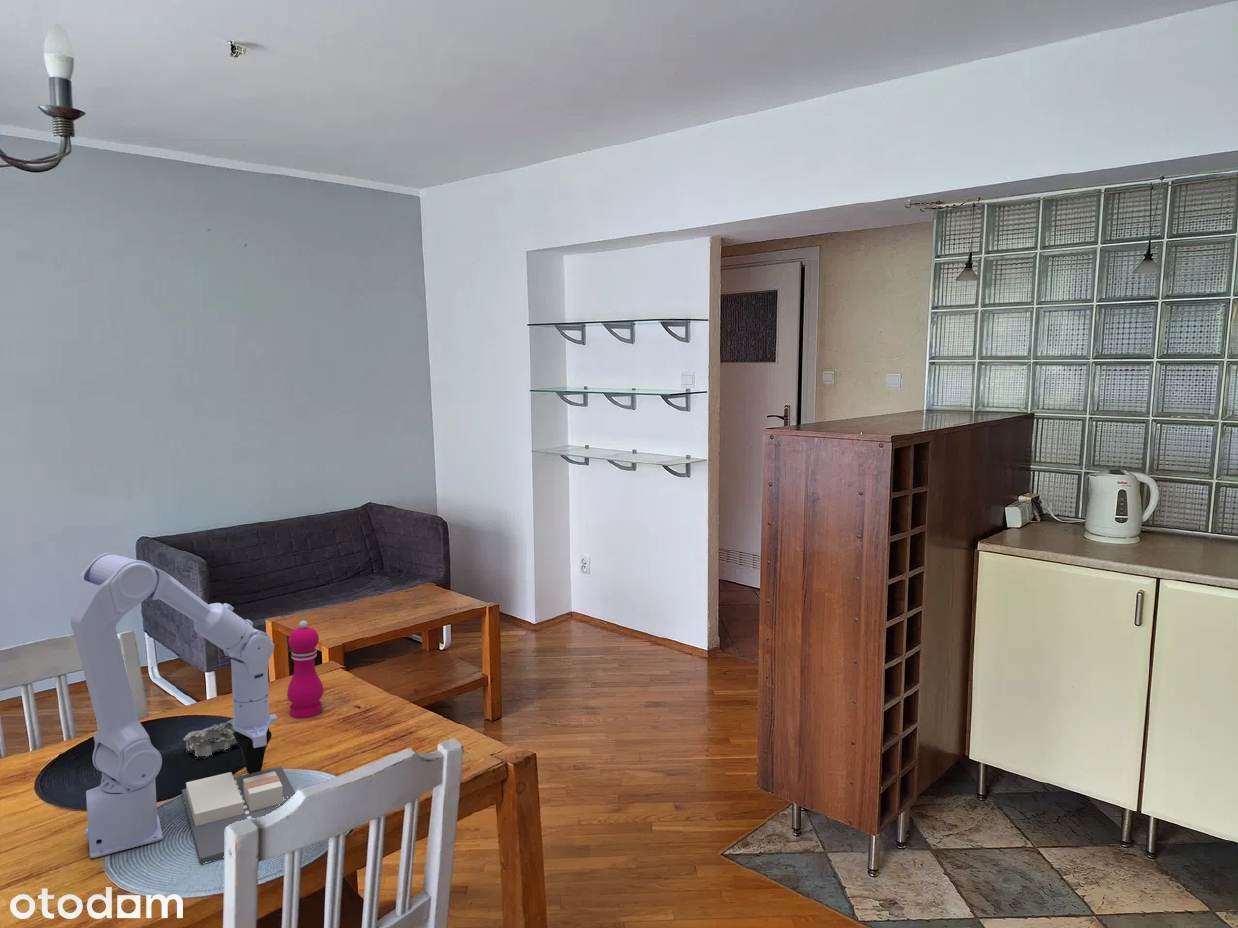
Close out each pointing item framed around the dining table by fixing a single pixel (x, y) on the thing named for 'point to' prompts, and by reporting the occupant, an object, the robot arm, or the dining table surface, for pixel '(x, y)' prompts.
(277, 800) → the stub
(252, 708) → the robot arm
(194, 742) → the egg carton
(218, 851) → the mat
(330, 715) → the dining table surface
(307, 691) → the pepper mill
